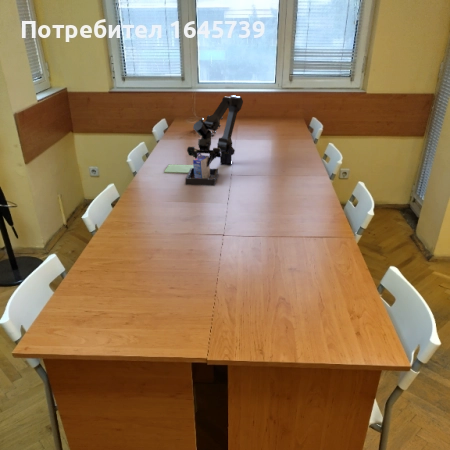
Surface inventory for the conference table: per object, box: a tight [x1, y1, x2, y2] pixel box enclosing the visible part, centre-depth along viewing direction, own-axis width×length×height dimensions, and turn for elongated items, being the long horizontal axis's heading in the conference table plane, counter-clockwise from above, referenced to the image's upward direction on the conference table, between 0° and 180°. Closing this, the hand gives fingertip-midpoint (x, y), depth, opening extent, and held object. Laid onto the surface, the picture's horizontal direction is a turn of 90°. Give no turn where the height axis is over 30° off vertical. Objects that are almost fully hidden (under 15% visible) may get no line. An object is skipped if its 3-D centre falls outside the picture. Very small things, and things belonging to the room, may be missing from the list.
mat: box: [163, 164, 194, 174], centre depth 270 cm, size 20×14×1 cm
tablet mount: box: [200, 114, 224, 135], centre depth 346 cm, size 27×14×17 cm
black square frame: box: [185, 168, 219, 186], centre depth 254 cm, size 16×18×4 cm
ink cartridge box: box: [192, 153, 211, 179], centre depth 251 cm, size 10×6×14 cm, turn 155°
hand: (202, 165), depth 251 cm, fingers closed on ink cartridge box, 6 cm apart
